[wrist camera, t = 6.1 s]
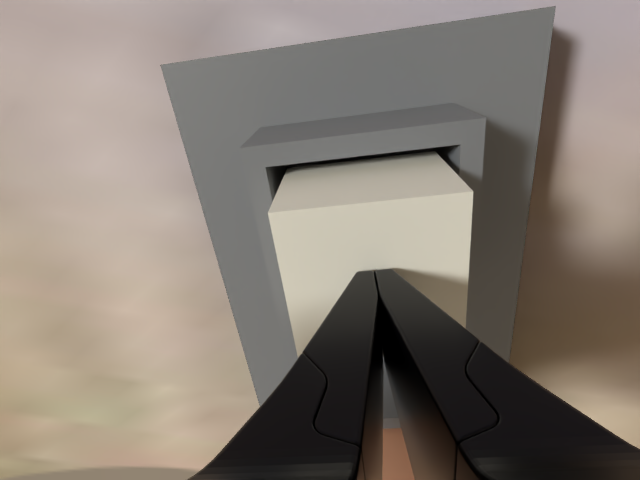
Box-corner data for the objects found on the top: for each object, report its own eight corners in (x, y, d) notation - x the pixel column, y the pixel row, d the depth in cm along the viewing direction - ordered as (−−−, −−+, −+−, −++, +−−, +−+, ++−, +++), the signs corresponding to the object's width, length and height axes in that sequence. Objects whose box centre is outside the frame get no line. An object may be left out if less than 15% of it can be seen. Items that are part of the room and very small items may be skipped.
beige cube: (434, 151, 11) (473, 191, 8) (433, 277, 13) (464, 350, 10) (287, 168, 11) (267, 212, 8) (308, 288, 13) (298, 360, 10)
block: (524, 12, 13) (627, -9, 8) (482, 438, 22) (518, 535, 18) (183, 63, 14) (108, 68, 9) (285, 446, 23) (272, 539, 19)
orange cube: (430, 400, 16) (452, 484, 13) (430, 463, 18) (449, 549, 15) (329, 406, 17) (327, 488, 13) (340, 467, 19) (340, 551, 15)
